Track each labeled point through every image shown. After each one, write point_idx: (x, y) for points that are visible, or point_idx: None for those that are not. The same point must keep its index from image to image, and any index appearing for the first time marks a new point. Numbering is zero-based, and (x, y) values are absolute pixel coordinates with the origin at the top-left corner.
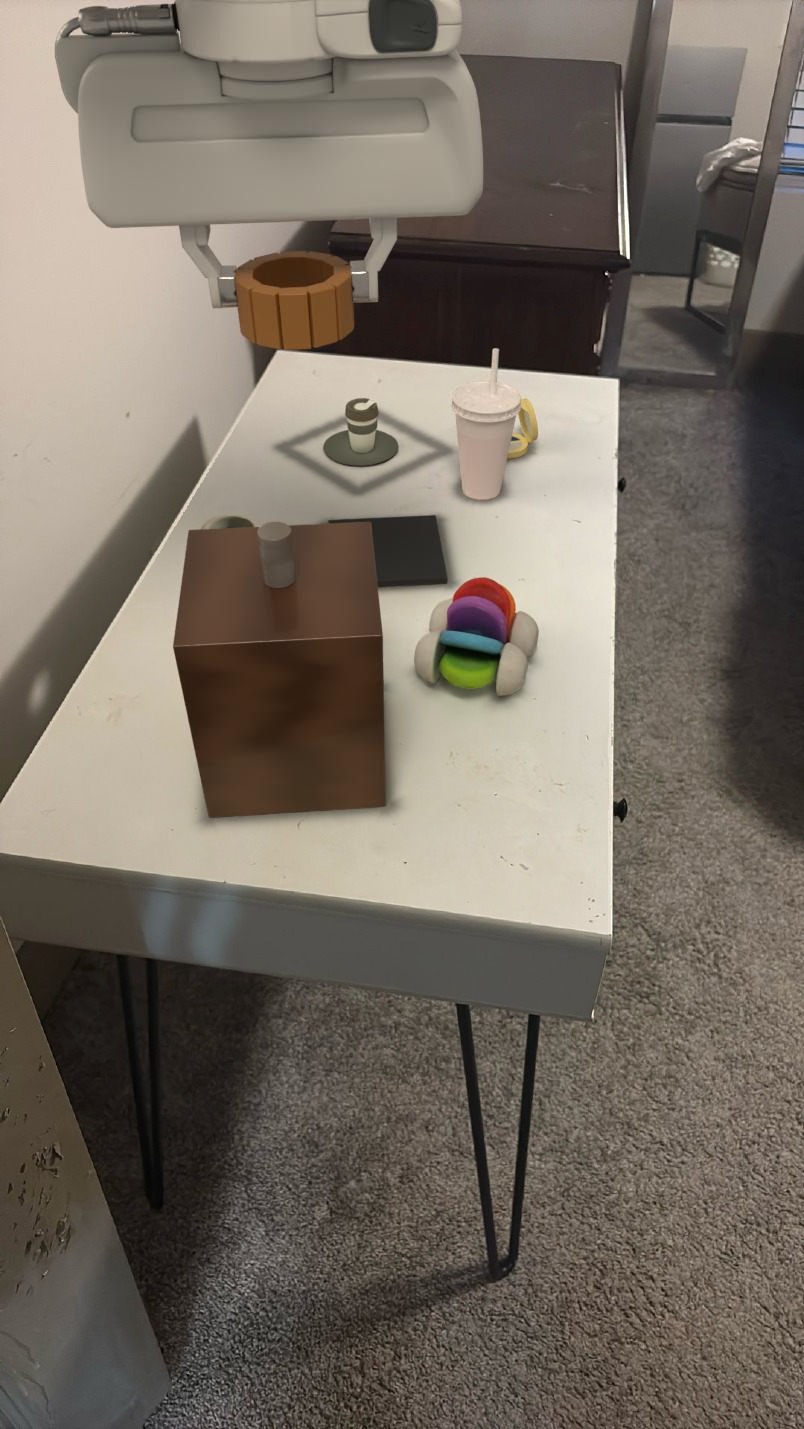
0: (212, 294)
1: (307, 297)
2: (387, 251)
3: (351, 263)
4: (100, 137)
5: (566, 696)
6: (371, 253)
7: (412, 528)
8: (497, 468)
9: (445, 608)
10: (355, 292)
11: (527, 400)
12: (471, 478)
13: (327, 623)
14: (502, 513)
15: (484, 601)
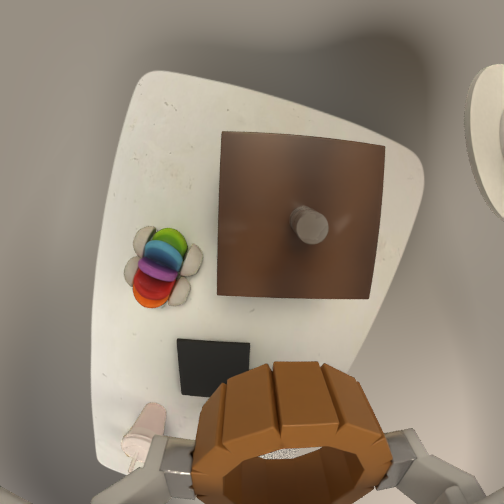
0: (417, 439)
1: (280, 421)
2: (116, 487)
3: (191, 494)
4: None
5: (119, 229)
6: (151, 497)
7: (195, 385)
8: (142, 414)
9: (177, 293)
10: (188, 448)
11: (126, 454)
12: (158, 413)
13: (266, 151)
14: (143, 390)
15: (147, 270)
